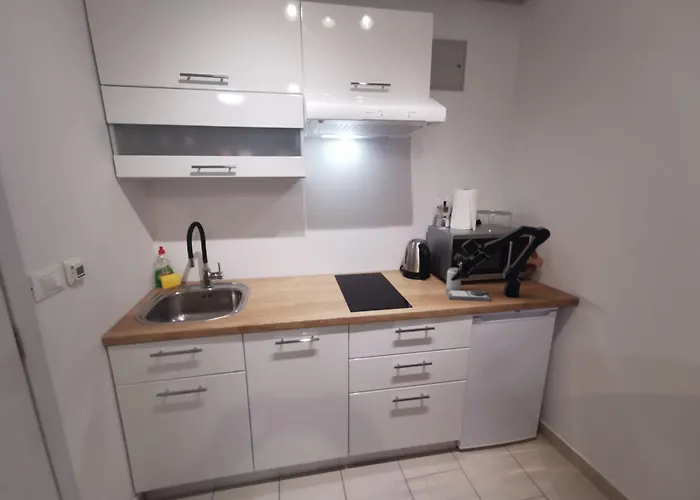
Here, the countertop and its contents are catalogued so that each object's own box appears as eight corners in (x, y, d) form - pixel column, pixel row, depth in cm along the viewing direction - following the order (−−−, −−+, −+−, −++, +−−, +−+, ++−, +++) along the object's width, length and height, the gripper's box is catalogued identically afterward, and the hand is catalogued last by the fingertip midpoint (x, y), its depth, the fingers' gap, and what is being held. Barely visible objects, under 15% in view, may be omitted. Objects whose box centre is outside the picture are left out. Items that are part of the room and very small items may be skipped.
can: (444, 290, 179) (446, 269, 176) (447, 286, 186) (449, 266, 183) (458, 292, 176) (460, 271, 173) (461, 288, 182) (463, 268, 179)
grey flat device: (485, 294, 174) (485, 289, 174) (491, 301, 164) (491, 296, 164) (445, 292, 176) (445, 287, 176) (449, 299, 167) (449, 294, 166)
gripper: (463, 245, 183) (441, 263, 189) (464, 253, 166) (440, 271, 171) (477, 260, 182) (455, 277, 188) (479, 269, 165) (455, 287, 171)
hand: (451, 278), depth 180 cm, fingers closed on can, 7 cm apart
